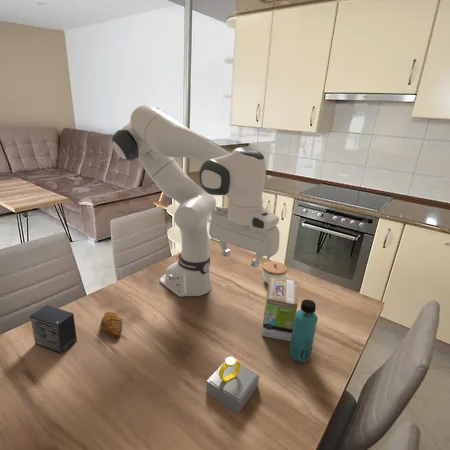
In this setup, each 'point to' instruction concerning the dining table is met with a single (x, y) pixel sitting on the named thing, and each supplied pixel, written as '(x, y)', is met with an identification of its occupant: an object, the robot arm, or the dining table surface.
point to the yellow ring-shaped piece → (229, 363)
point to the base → (233, 387)
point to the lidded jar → (273, 270)
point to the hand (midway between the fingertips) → (240, 260)
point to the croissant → (112, 324)
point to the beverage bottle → (303, 331)
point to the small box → (54, 328)
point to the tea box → (280, 309)
